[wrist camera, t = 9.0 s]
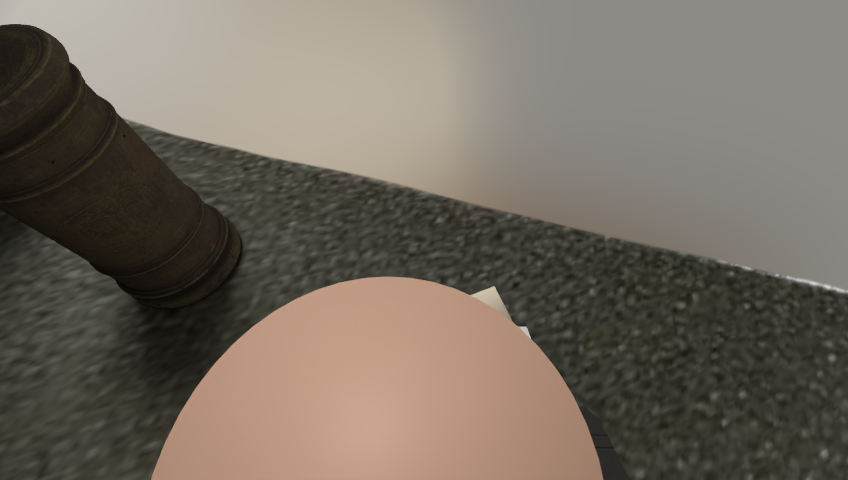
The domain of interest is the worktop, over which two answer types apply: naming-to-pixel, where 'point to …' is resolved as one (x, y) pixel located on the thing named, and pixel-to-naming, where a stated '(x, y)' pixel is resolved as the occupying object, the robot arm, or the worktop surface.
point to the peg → (381, 395)
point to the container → (101, 181)
